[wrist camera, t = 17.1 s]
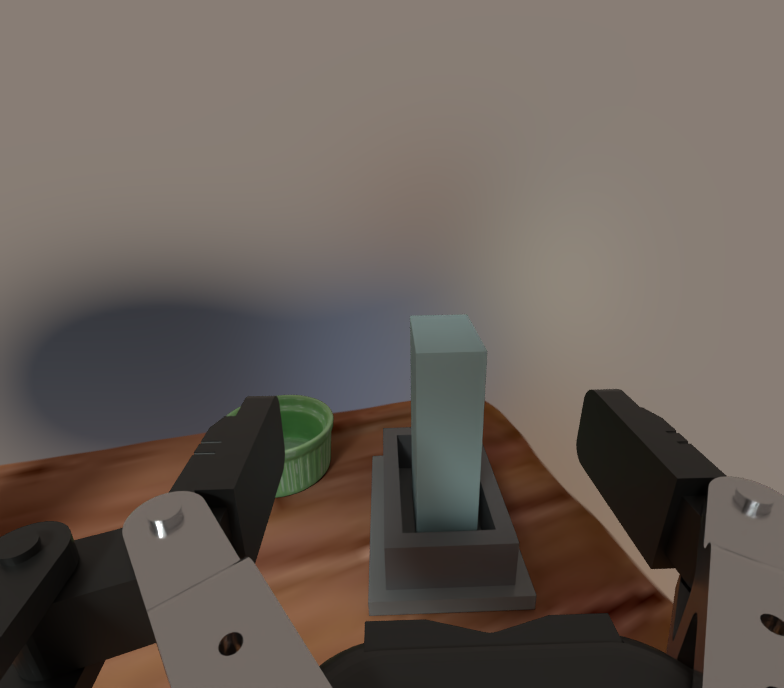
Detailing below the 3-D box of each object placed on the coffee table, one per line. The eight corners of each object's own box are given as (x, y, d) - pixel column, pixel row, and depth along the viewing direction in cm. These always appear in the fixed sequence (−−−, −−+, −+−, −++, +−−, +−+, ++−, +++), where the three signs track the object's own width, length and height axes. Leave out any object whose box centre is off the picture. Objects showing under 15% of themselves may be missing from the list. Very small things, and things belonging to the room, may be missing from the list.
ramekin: (314, 512, 32) (308, 461, 30) (201, 498, 33) (189, 448, 32) (350, 441, 40) (347, 398, 38) (257, 432, 42) (250, 391, 40)
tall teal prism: (417, 554, 27) (416, 353, 22) (412, 487, 32) (410, 316, 27) (475, 552, 27) (487, 351, 22) (460, 485, 32) (466, 314, 27)
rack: (369, 615, 24) (365, 560, 23) (373, 466, 36) (370, 423, 35) (534, 609, 24) (542, 553, 23) (483, 462, 36) (486, 419, 35)
